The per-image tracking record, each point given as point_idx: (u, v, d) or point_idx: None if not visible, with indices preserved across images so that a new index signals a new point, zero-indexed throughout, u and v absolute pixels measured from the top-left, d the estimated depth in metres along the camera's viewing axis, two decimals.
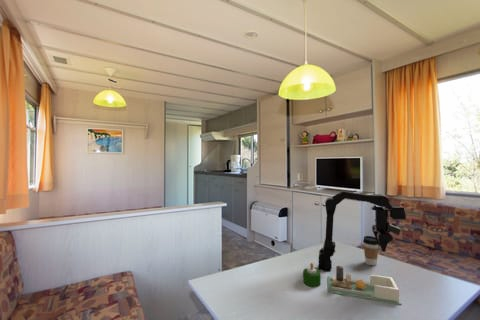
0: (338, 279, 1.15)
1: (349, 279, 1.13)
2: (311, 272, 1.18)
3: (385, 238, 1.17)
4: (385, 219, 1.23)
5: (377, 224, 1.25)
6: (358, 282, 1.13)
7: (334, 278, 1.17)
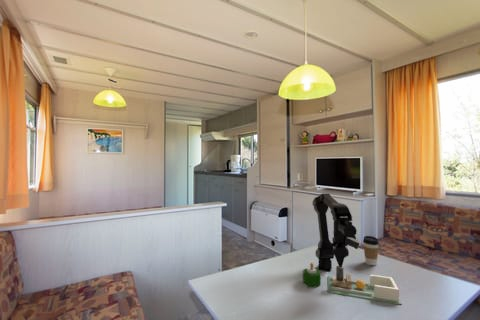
0: (338, 279, 1.15)
1: (349, 279, 1.13)
2: (311, 272, 1.18)
3: (340, 253, 1.08)
4: (336, 231, 1.15)
5: (335, 237, 1.15)
6: (358, 282, 1.13)
7: (334, 278, 1.17)
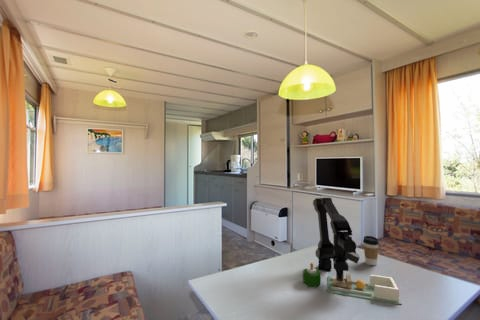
0: (338, 279, 1.15)
1: (349, 279, 1.13)
2: (311, 272, 1.18)
3: (340, 268, 1.08)
4: (335, 245, 1.15)
5: (335, 251, 1.15)
6: (358, 282, 1.13)
7: (334, 278, 1.17)
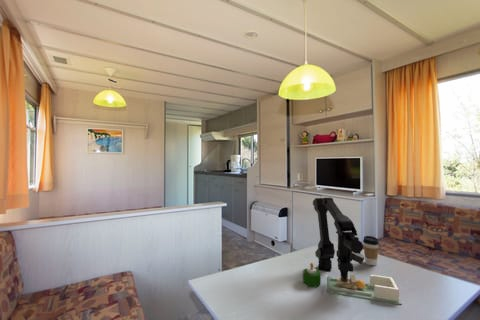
0: (342, 280, 1.15)
1: (354, 280, 1.13)
2: (311, 272, 1.18)
3: (345, 269, 1.07)
4: (340, 245, 1.14)
5: (339, 251, 1.15)
6: (358, 282, 1.13)
7: (338, 279, 1.17)
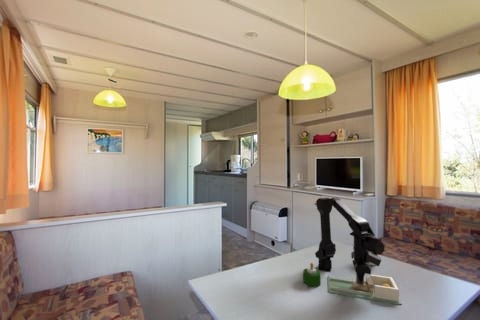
0: (358, 282, 1.12)
1: (370, 282, 1.10)
2: (311, 272, 1.18)
3: (362, 271, 1.05)
4: (358, 247, 1.11)
5: (355, 253, 1.12)
6: None
7: (354, 281, 1.15)
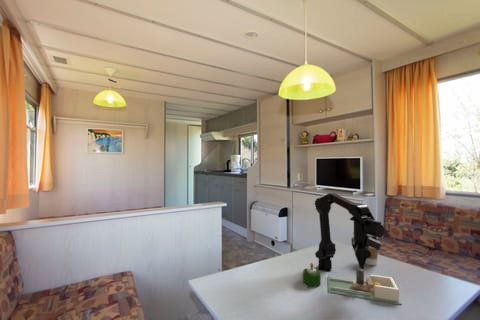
0: (358, 282, 1.12)
1: (370, 282, 1.10)
2: (311, 272, 1.18)
3: (363, 254, 1.05)
4: (358, 232, 1.11)
5: (355, 237, 1.12)
6: None
7: (354, 281, 1.15)
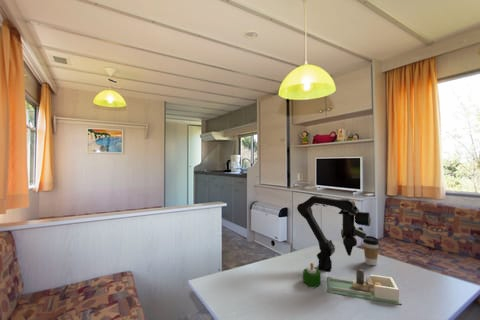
0: (358, 282, 1.12)
1: (370, 282, 1.10)
2: (311, 272, 1.18)
3: (349, 242, 1.19)
4: (349, 223, 1.25)
5: (344, 228, 1.27)
6: None
7: (354, 281, 1.15)
